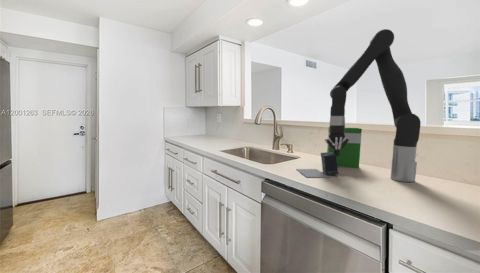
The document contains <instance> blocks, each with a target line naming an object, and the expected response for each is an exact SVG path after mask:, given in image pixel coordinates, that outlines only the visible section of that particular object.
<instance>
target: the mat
mask: <svg viewBox="0 0 480 273" xmlns="http://www.w3.org/2000/svg"><path fill="white" fill-rule="evenodd" d="M296 171H297V172H298V173H300V174H301V175H302V176H304V177H305V178H307V179H309V178H310V179H311V178H313V179H315V178H318V179H319V178H321V179H323V178H325V179H326V178H331V177H330V175H326V174H325V173H324V172H323V171H320V169H317V168H296Z"/></svg>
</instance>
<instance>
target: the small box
mask: <svg viewBox="0 0 480 273" xmlns="http://www.w3.org/2000/svg"><path fill="white" fill-rule="evenodd" d="M320 158H321V167H322V173H324V174H326V175H327V176H331V175H339V169H338V166H337V160H336V155H335V154H334V153H332V152H320Z"/></svg>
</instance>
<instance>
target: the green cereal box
mask: <svg viewBox="0 0 480 273" xmlns="http://www.w3.org/2000/svg"><path fill="white" fill-rule="evenodd" d="M362 131H363V129H362V128H360V127H345V133H344V134H345V137H346V138H347V139H349V141H348V142H347V144H346V145H345V146H344V148H341V149H340V155H339V156H336V160H337V167H340V168H341V167H342V168H356V169H357V168H358V169H359V168H360V161H361V160H360V157H361V144H362ZM329 135H330V126H329V127H328V133H327V139H328V138H329ZM330 142H331V144H332V141H330ZM342 142H343V141H342ZM342 142H341V143H342ZM332 145H333V144H332ZM326 151H327V152H332V153H333V148H330V147H329V145H328V144H327V149H326Z"/></svg>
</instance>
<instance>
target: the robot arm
mask: <svg viewBox="0 0 480 273" xmlns="http://www.w3.org/2000/svg"><path fill="white" fill-rule="evenodd" d="M394 41H395V34H394V32H393V31H392V30H390V29H387V28H386V29H384V28H383V29H380V30H378V31H377V32H376V33H375V34H374V35H373V36H372V38H371V39H370V41H369V44H368V46H367V48H366V49H365V50H364V52H363V53H362V54H361V55H360V57H359V58H358V59H357V60H356V61H355V62H354V63H353V65H351V67H350V68H349V69H348V70H347V71H346V72H345V74H343V76H342V78H341V79H340V80H339V81H338V82H337V83H336V84H335V85H334V87H332V88H331V90H330V93H329V96H330V98H331V106H330V117H329V127H330V135H329V138H328V137H327V138H326V139H324V142H325V143H326V144H327V146H328V145H329V147H330V148H333V153H334V154H335V155H336V156H339V155H340V149H341V148H344V146H345V145H346V144H347V142H348V141H349V139H347V138H346V137H345V134H344V133H345V128H346V117H345V115H346V113H345V112H346V101H347V96H348V95H347V92H348V91H349V90H350V88H352V87H353V86H354V85H355V84H356V83H357V82H358V81H359V79H361V77H362V76H363V74H365V72H366V71H367V70H368V68H369V67H370V66H371V65H372V63H373V62H374V61H375V63H376V65H377V69H378V73H379V76H380V81H381V85H382V87H383V90H384V93H385V95H386V99H387V100H388V103H389V105H390V108H391V112H392V118H393V124H394V126H395V127H394V128H396V129H395V137H394V140H393V146H392V158H391V169H390V179H391V180H394V181H397V182H401V183H402V182H403V183H412V182H416V176H417V175H416V174H417V168H418V167H417V164H418V163H417V161H416V156H417V155H416V154H417V146H418V142H419V140H420V139H419V138H420V132H421V124H422V123H421V119H420V117H419V116H418V115H417V114H415V113H413V112H412V109H411V107H410V104H409V100H408V87H407V81H406V78H405V76H404V73H403V71H402V69H401V68H400V67H399V65H398V64H397V62H396V61H395V60H394V58H393V54H392V51H391V46H392V44H393V43H394ZM330 141H332V144H333V145H332V144H331V142H330ZM342 141H343V142H342ZM341 142H342V143H341Z"/></svg>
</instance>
